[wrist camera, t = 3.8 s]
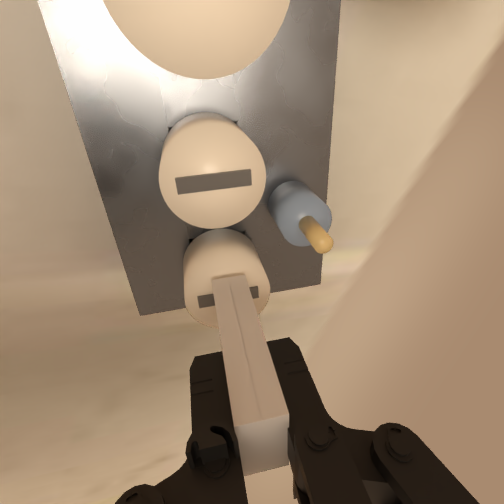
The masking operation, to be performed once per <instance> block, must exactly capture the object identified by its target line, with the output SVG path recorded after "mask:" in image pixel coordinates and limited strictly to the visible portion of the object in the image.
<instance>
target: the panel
mask: <svg viewBox="0 0 504 504" xmlns="http://www.w3.org/2000/svg"><path fill="white" fill-rule="evenodd" d="M37 1H38V4H39V7H40V10H41V13H42V16H43V19H44V22H45V25H46V29H47V32H48V35H49V38H50V41H51V44H52V47H53V50H54V53H55V56H56V59H57V62H58V65H59V68H60V71H61V75H62V78H63V81H64V84H65V87H66V90H67V93H68V96H69V99H70V102H71V105H72V108H73V111H74V114H75V117H76V121H77V124H78V127H79V130H80V133H81V136H82V139H83V142H84V145H85V148H86V151H87V154H88V157H89V160H90V164H91V167H92V170H93V173H94V176H95V179H96V182H97V185H98V188H99V191H100V194H101V197H102V200H103V203H104V206H105V210H106V213H107V216H108V219H109V222H110V225H111V228H112V231H113V234H114V237H115V240H116V243H117V246H118V249H119V252H120V256H121V259H122V262H123V265H124V268H125V271H126V274H127V277H128V280H129V283H130V286H131V289H132V292H133V295H134V298H135V302H136V305H137V308H138V311H139V314H140V316H142V315H148V314H153V313H159V312H165V311H170V310H176V309H182V308H186V305H185V300H184V271H183V259H184V254H185V251H186V249H187V247H188V246H189V245H190V243H191V242H192V241H193V239H194V238H196V237H198V236H199V235H201V234H203V233H205V232H207V231H210V230H214V229H206V228H200V227H196V226H193V225H191V224H188V223H187V222H185V221H183V220H182V219H180V218H179V217H178V216H176V215H175V214H174V213H173V212H172V211H171V209H170V208H169V207H168V205H167V204H166V202H165V200H164V198H163V196H162V193H161V190H160V186H159V167H160V161H161V155H162V148H163V144H164V141H165V138H166V136H167V134H168V133H169V131H170V130H171V128H172V127H173V126H174V125H175V124H176V123H177V122H178V121H180V120H181V119H183V118H184V117H187V116H189V115H192V114H195V113H200V112H210V113H216V114H220V115H222V116H224V117H226V118H228V119H230V120H231V121H233V122H234V123H235V124H236V125H237V126H238V127H239V128H240V129H241V130H242V131H243V132H244V133H245V134H246V135H247V136H248V137H249V138H250V140H251V141H252V142H253V143H254V144H255V145H256V147H257V148H258V150H259V151H260V153H261V155H262V158H263V160H264V164H265V169H266V184H265V189H264V192H263V195H262V197H261V200H260V201H259V203H258V205H257V206H256V207H255V209H254V210H253V211H252V212H251V213H250V214H249V215H248V216H247V217H246V218H244V219H243V220H241V221H240V222H238V223H236V224H234V225H231V226H228V227H224V228H218V229H232V230H235V231H238V232H240V233H242V234H244V235H245V236H246V237H248V238H249V239H250V240H251V242H252V243H253V245H254V247H255V249H256V251H257V254H258V256H259V259H260V261H261V263H262V266H263V268H264V271H265V273H266V275H267V278H268V280H269V283H270V293H273V292H278V291H284V290H290V289H295V288H301V287H307V286H313V285H318V284H320V283H321V269H322V255H323V254H321V253H318V252H316V250H315V249H314V248H313V246H312V245H309V246H303V247H302V246H295V245H292V244H291V243H289V242H288V241H287V240H286V239H285V238H284V236H283V234H282V233H281V231H280V229H279V228H278V226H277V224H276V223H275V221H274V220H273V218H272V216H271V215H270V212H269V209H268V202H269V198H270V196H271V194H272V192H273V191H274V190H275V189H276V188H277V187H278V186H279V185H281V184H282V183H284V182H287V181H299V182H302V183H304V184H305V185H307V186H308V187H309V188H310V189H311V190H312V191H313V192H314V193H315V194H316V195H317V196H318V197H319V198H320V199H321V200H322V201H323V202H324V203H325V204H326V200H327V186H328V172H329V158H330V144H331V130H332V116H333V103H334V89H335V75H336V61H337V47H338V33H339V19H340V5H341V0H290V3H289V7H288V10H287V13H286V15H285V18H284V21H283V23H282V25H281V27H280V29H279V31H278V33H277V35H276V36H275V38H274V39H273V41H272V42H271V44H270V45H269V46H268V48H267V49H266V50H265V51H264V52H263V53H262V55H260V56H259V57H258V58H257V59H256V60H255V61H254V62H253V63H251V64H250V65H248V66H247V67H245V68H244V69H242V70H240V71H238V72H236V73H234V74H232V75H228V76H225V77H222V78H216V79H193V78H187V77H183V76H180V75H177V74H174V73H172V72H169V71H167V70H165V69H163V68H161V67H160V66H158V65H156V64H155V63H153V62H152V61H150V60H149V59H148V58H146V57H145V56H144V55H143V54H141V53H140V52H139V51H138V50H137V49H136V48H135V47H134V46H133V45H132V44H131V43H130V42H129V41H128V39H127V38H126V37H125V36H124V35H123V33H122V32H121V31H120V30H119V28H118V26H117V25H116V23H115V22H114V20H113V19H112V17H111V16H110V14H109V12H108V10H107V8H106V6H105V4H104V2H103V0H37Z"/></svg>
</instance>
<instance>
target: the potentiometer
mask: <svg viewBox="0 0 504 504" xmlns="http://www.w3.org/2000/svg"><path fill="white" fill-rule="evenodd" d="M268 209H269V212H270V215H271V216H272V218H273V220H274V221H275V223H276V224H277V226H278V228H279V229H280V231H281V233H282V234H283V236H284V238H285V239H286V240H287V241H288V242H289V243H291V244H292V245H295V246H302V247H303V246H309V245H312V246H313V248H314V249H315V250H316V252H318V253H321V254H323V253H326V252H328V251H330V250H331V248H332V247H333V240H332V238H331V237H330V236H329V235H328V234H327V232H328V230H329V228H330V226H331V221H332V215H331V211H330V209H329V207H328V206H327V205H326V204H325V203H324V202H323V201H322V200H321V199H320V198H319V197H318V196H317V195H316V194H315V193H314V192H313V191H312V190H311V189H310V188H309V187H308V186H307V185H305V184H304V183H302V182H299V181H287V182H284V183H282V184H281V185H279V186H278V187H277V188H276V189H275V190H274V191H273V192H272V194H271V196H270V198H269V202H268Z"/></svg>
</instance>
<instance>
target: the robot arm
mask: <svg viewBox="0 0 504 504" xmlns="http://www.w3.org/2000/svg"><path fill="white" fill-rule="evenodd" d="M211 281H212V288H213V294H214V301H215V307H216V314H217V320H218V327H219V333H220V340H221V346H222V351H221V352H216V353H211V354H206V355H201V356H196V357H195V358H194V360H193V363H192V365H191V367H190V392H191V417H192V434H191V436H190V438H189V440H188V442H187V446H186V452H185V453H186V456H187V460H186V462H185V463H184V464H183V465H182V467H181V468H180V469H179V470H178V471H176V472H175V473H174V474H173V475H171V476H169V477H168V478H166V479H165V480H163V481H162V482H160V483H158V484H157V485H155V486H151V485H147V484H143V485H138V486H134V487H133V488H131V489H129V490H128V491H126V492H125V493H124V494H123V495H122V496H121V497H120V498H119V499H118V500H117V501H116V503H115V504H248V500H247V494H246V488H245V482H244V476H247V475H251V474H255V473H258V472H263V471H267V470H271V469H274V468H278V467H282V466H286V465H289V461H290V465H291V469H292V472H293V495H294V499H296V498H297V500H298V503H299V504H479V503H478V502H477V501H476V499H475V498H474V497H473V496H472V495H471V494H470V493H469V492H468V491H467V490H466V489H465V487H464V486H463V485H462V484H461V483H460V482H459V481H458V480H457V479H456V478H455V476H454V475H452V473H451V472H450V471H449V470H448V469H447V468H446V467H445V466H444V464H442V462H441V461H440V460H439V459H438V458H437V457H436V456H435V455H434V454H433V452H432V451H431V450H430V449H429V448H428V447H427V446H426V445H425V444H424V442H423V441H422V440H421V439H420V438H419V437H418V436H417V435H416V434H415V433H413V432H412V431H411V430H410V429H408V428H407V427H405V426H402V425H400V424H397V423H386V424H382V425H380V426H379V427H378V428H377V429H376V430H375V432H374V431H365V430H356V429H350V428H346V427H344V426H342V425H340V424H338V423H337V422H336V421H334V420H333V419H332V418H331V417H330V416H329V414H328V413H327V411H326V409H325V408H324V405H323V403H322V401H321V398H320V396H319V393H318V391H317V389H316V386H315V384H314V382H313V379H312V377H311V375H310V372H309V371H308V367H307V365H306V363H305V361H304V358H303V356H302V353H301V351H300V349H299V347H298V346H297V345H296V344H295V343H294V342H293V341H292V340H291V339H290V338H289V337H288V338H283V339H278V340H273V341H268V342H266V339H265V336H264V333H263V330H262V327H261V323H260V320H259V317H258V314H257V311H256V308H255V305H254V301H253V298H252V295H251V292H250V289H249V286H248V282H247V279H246V276H245V275H240V276H233V277H227V278H221V279H215V280H211Z"/></svg>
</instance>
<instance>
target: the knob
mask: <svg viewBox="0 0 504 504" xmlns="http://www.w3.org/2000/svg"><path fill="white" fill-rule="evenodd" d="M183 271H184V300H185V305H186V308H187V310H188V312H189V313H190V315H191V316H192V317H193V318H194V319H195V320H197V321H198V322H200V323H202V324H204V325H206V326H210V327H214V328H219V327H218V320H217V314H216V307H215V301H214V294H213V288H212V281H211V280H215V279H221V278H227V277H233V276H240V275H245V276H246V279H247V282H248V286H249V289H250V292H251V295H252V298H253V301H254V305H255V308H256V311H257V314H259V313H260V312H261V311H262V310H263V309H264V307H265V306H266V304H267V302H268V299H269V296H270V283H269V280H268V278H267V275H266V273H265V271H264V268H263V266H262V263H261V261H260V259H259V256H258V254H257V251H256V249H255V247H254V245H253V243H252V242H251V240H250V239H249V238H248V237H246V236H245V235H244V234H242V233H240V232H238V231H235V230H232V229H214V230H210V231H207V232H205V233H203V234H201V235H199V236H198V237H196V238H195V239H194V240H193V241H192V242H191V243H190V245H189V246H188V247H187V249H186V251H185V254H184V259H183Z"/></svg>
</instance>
